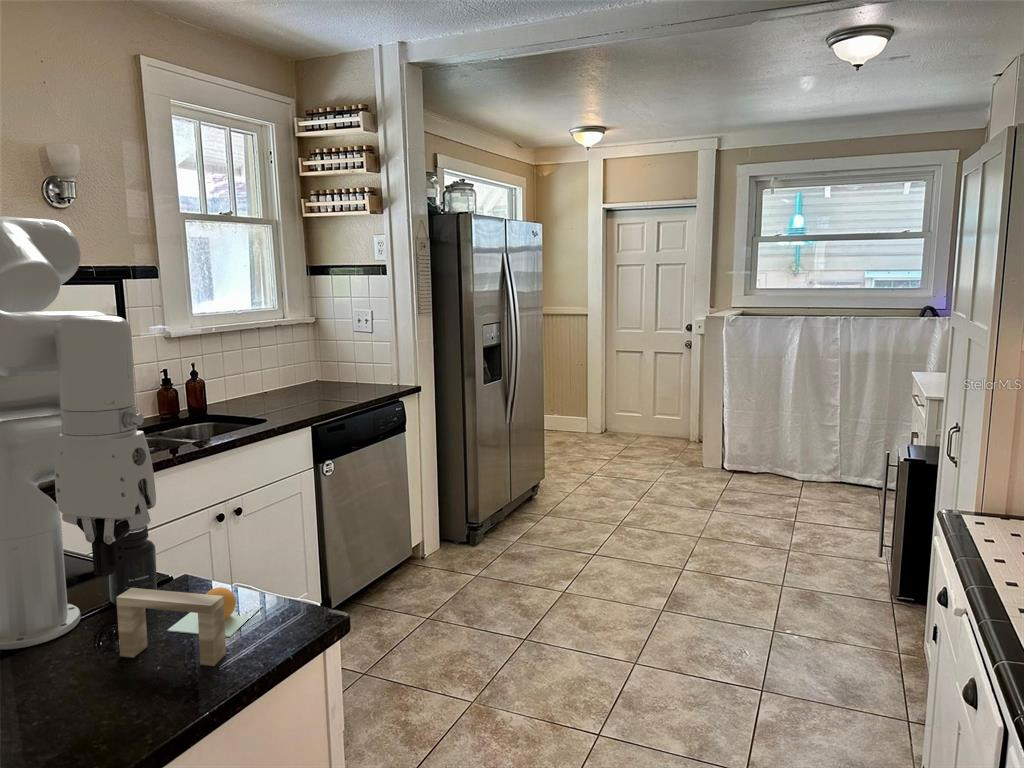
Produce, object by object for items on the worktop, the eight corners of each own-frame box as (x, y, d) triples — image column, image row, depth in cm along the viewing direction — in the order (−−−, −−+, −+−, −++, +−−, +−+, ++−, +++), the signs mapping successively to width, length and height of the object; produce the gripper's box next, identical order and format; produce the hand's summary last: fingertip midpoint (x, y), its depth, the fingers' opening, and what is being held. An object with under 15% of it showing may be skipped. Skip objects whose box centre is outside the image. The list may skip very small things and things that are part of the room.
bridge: (213, 666, 95) (211, 605, 94) (120, 656, 97) (116, 597, 95) (225, 654, 98) (223, 595, 96) (134, 645, 100) (131, 587, 98)
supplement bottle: (137, 609, 110) (133, 537, 109) (100, 605, 112) (95, 533, 110) (167, 591, 117) (163, 522, 115) (131, 587, 118) (127, 519, 117)
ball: (215, 583, 110) (212, 615, 110) (194, 589, 106) (192, 623, 105) (243, 585, 109) (241, 618, 109) (224, 592, 105) (222, 626, 104)
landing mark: (167, 631, 104) (167, 630, 104) (205, 601, 114) (205, 600, 114) (230, 637, 102) (229, 636, 102) (263, 606, 112) (263, 605, 112)
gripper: (178, 418, 84) (185, 563, 87) (66, 413, 86) (77, 554, 89) (136, 431, 77) (146, 589, 79) (15, 424, 79) (28, 579, 81)
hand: (109, 570), depth 84 cm, fingers closed
